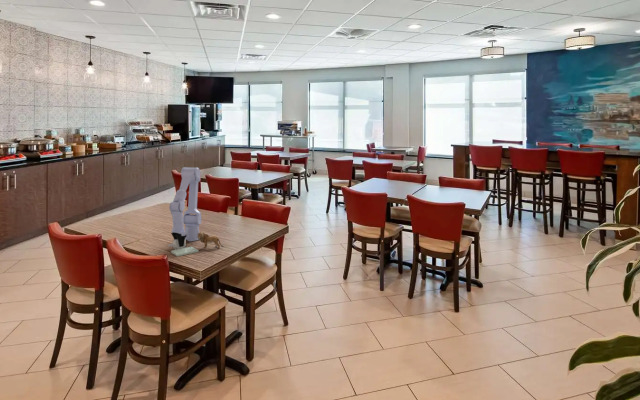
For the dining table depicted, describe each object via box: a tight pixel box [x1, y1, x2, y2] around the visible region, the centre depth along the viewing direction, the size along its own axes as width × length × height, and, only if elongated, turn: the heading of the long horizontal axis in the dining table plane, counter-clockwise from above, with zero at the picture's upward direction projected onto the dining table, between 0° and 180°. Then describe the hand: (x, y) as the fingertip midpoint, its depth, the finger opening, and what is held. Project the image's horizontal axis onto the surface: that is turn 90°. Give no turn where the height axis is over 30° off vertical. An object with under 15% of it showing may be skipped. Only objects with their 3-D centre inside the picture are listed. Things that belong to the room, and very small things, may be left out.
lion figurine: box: [197, 231, 224, 250], centre depth 229 cm, size 15×5×9 cm, turn 91°
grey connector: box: [168, 239, 187, 250], centre depth 227 cm, size 3×9×5 cm, turn 131°
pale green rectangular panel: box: [170, 245, 200, 258], centre depth 221 cm, size 9×12×1 cm
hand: (179, 245), depth 228 cm, fingers open, 5 cm apart
